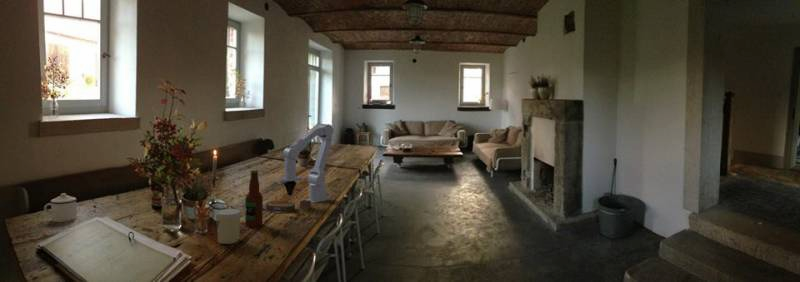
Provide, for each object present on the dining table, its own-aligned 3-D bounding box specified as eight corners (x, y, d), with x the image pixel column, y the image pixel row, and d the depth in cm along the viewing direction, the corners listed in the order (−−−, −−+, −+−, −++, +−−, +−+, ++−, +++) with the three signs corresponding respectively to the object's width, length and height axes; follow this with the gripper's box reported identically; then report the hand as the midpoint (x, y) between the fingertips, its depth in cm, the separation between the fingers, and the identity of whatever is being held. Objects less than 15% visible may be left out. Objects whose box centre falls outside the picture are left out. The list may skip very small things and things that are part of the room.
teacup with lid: (81, 216, 192) (80, 191, 191) (70, 222, 183) (69, 196, 182) (50, 216, 189) (49, 191, 188) (38, 222, 181) (37, 196, 179)
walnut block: (304, 207, 226) (304, 199, 225) (310, 208, 224) (310, 200, 223) (299, 208, 222) (300, 201, 221) (306, 209, 220) (306, 202, 220)
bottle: (245, 223, 193) (245, 169, 190) (261, 222, 196) (262, 169, 193) (245, 228, 186) (245, 172, 184) (262, 227, 189) (263, 172, 186)
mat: (271, 204, 227) (271, 203, 227) (291, 211, 216) (291, 210, 216) (257, 206, 221) (257, 206, 221) (277, 214, 210) (277, 213, 210)
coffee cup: (220, 236, 174) (220, 208, 173) (243, 236, 175) (243, 208, 174) (212, 244, 165) (212, 214, 164) (236, 244, 166) (237, 215, 165)
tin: (297, 203, 221) (291, 205, 213) (297, 208, 221) (291, 212, 213) (269, 200, 223) (263, 203, 214) (269, 206, 223) (262, 209, 214)
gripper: (296, 167, 232) (296, 191, 233) (273, 170, 221) (273, 196, 222) (304, 169, 227) (304, 194, 229) (281, 172, 216) (281, 198, 218)
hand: (289, 195), depth 225 cm, fingers closed
